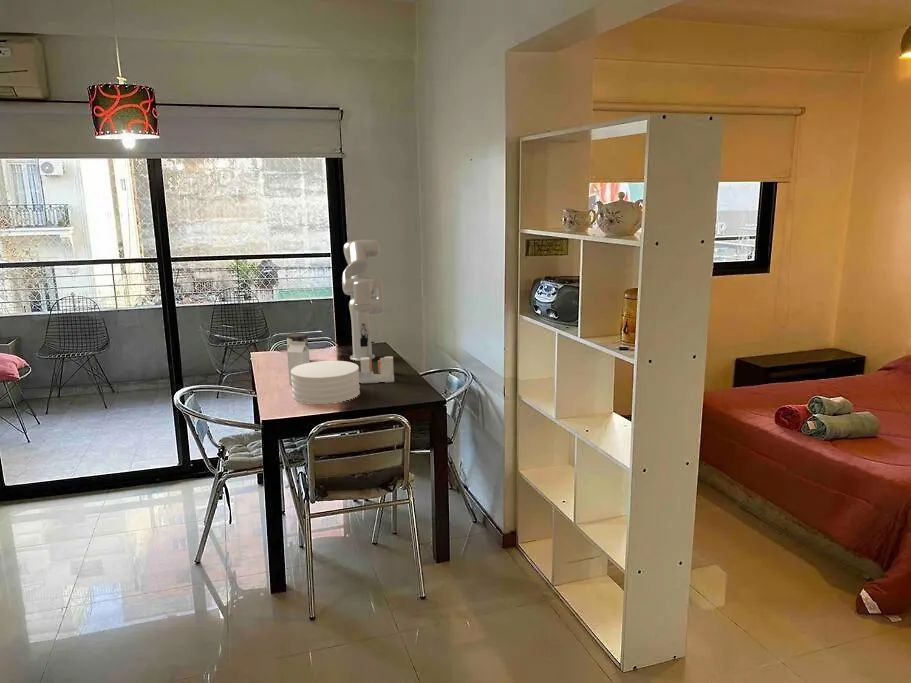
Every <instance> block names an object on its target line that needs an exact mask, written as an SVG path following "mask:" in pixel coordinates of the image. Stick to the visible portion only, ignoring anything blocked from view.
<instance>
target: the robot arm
mask: <svg viewBox="0 0 911 683" xmlns="http://www.w3.org/2000/svg"><path fill="white" fill-rule="evenodd" d="M380 252H381V248H380V244H379V242H378V241H377V240H376V239H357V240H353V241H352V240H351V241H346V242H345V243H344V245H343V254H344V257H345V260H346V261H345V262H346V263H347V266H346V267H345V268H344V270H343V272H342V275H341V276H342V277H341V280H342V281H341V284H342V291H343V293H344V295H347V296H353V297H352V298H351V299H350V300H349V302H348V307H349V308H348V309H349V313H350V320H351V322H350V323H351V336H352V337H351V338H352V339H351V340H352V355H350V356H349V359H350V360H352V361H354V360H355V361H354V362H361V361H360V359H361V358H363V357H369V360H370V359H371V360H374V359H375V358H376V355H375V354H374V353H372V351H373V350H372V349H373V348H372V328H371V327H372V325H371V323H370V320H369V319H370V318H369V317H370V316H381V315H383V314H384V311H385V304H384V302H385V301H384V299H385V298H384V286H383V281H382V278H381V277H379V275H378V276H376V275H368V268H369V264H370V263H369V258H370V259H371V258H378V257H379V256H380Z"/></svg>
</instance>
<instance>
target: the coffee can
mask: <svg viewBox="0 0 911 683" xmlns="http://www.w3.org/2000/svg"><path fill="white" fill-rule="evenodd" d="M290 341H295V342H305V344H306V346H307V347H308V348H309V342H308V341H309V340H308V333H306V332H292V333H287V334H286V343H287V344H286V345H287V346H286V347H287V350H288V349H289V346H290Z"/></svg>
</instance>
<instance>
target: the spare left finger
mask: <svg viewBox="0 0 911 683" xmlns="http://www.w3.org/2000/svg"><path fill="white" fill-rule="evenodd" d="M383 358H389V374H392V373H394V372H395V371H394V356H384V357H383Z"/></svg>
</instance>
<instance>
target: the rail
mask: <svg viewBox="0 0 911 683" xmlns="http://www.w3.org/2000/svg"><path fill="white" fill-rule="evenodd" d="M377 370H378V371H377V372H378V373H374V371H373V370H372V371H370V372H361V371H358V372H359V383H361V384H377V383H379V382H385V383H394V382H395V374H394V373H392V374H389V358H384V357H379V359H378V360H377ZM379 384H380V383H379Z"/></svg>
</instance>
